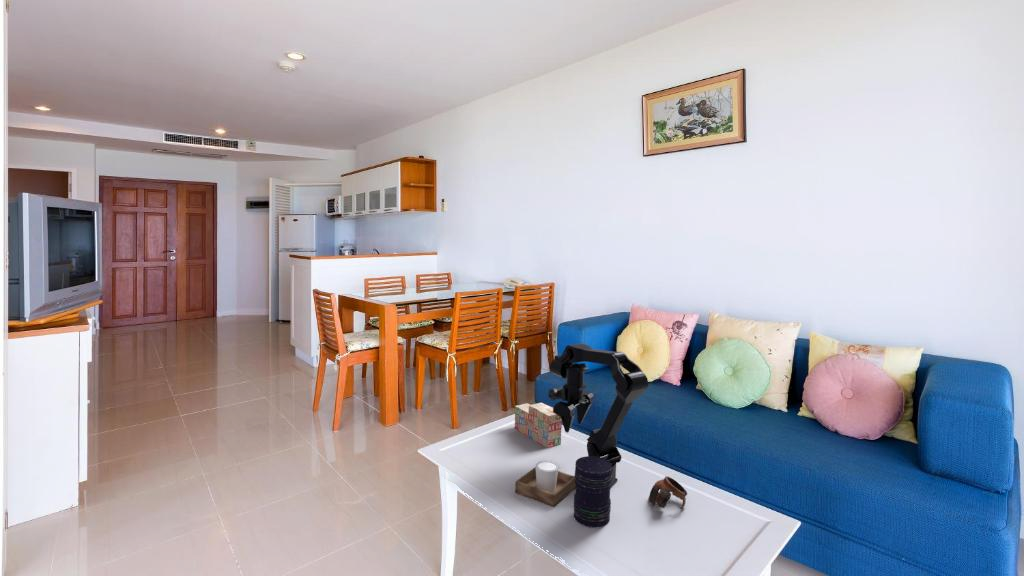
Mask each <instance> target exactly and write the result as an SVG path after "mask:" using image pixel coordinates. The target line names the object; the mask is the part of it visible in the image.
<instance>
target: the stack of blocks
mask: <svg viewBox="0 0 1024 576" xmlns="http://www.w3.org/2000/svg"><path fill="white" fill-rule="evenodd" d="M562 427H563V423H562V420H561V417H560V416H559V415H557V414H555V413H553V406H550V405H547V404H546V403H543V402H538V403H533V404H529V403H522V404H518V405H517V404H516V405H515V406H514V429H515V430H517V431H518V432H520V433H521V434H523V435H525V436H526V437H528V438H530V439H532V440H533V441H535V442H537V443H538V444H540V445H541V446H543V447H545V448H546V449H550V448H555V447H557V446H560V445H561V443H562Z"/></svg>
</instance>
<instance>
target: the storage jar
mask: <svg viewBox="0 0 1024 576" xmlns="http://www.w3.org/2000/svg"><path fill="white" fill-rule="evenodd" d="M574 476H575V479H574V480H575V485H576V488H575V489H574V490H575V492H574V497H573V519H574V520H575V521H576V523H578V524H580V525H581V526H584V527H586V528H591V529H597V528H599V529H600V528H603V527H605V526H607V525H608V524H609V523H610V521H611V520H610V519H611V518H610V517H611V516H610V515H611V511H612V510H611V509H612V507H611V505H612V503H611V501H612V500H611V488H612V487H611V485H612V464H611V463H610V462H609V461H608V460H606V459H603V458H601V457H594V456H588V455H586V456H581V457H578V458H577V459H576V461H575V469H574Z"/></svg>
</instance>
